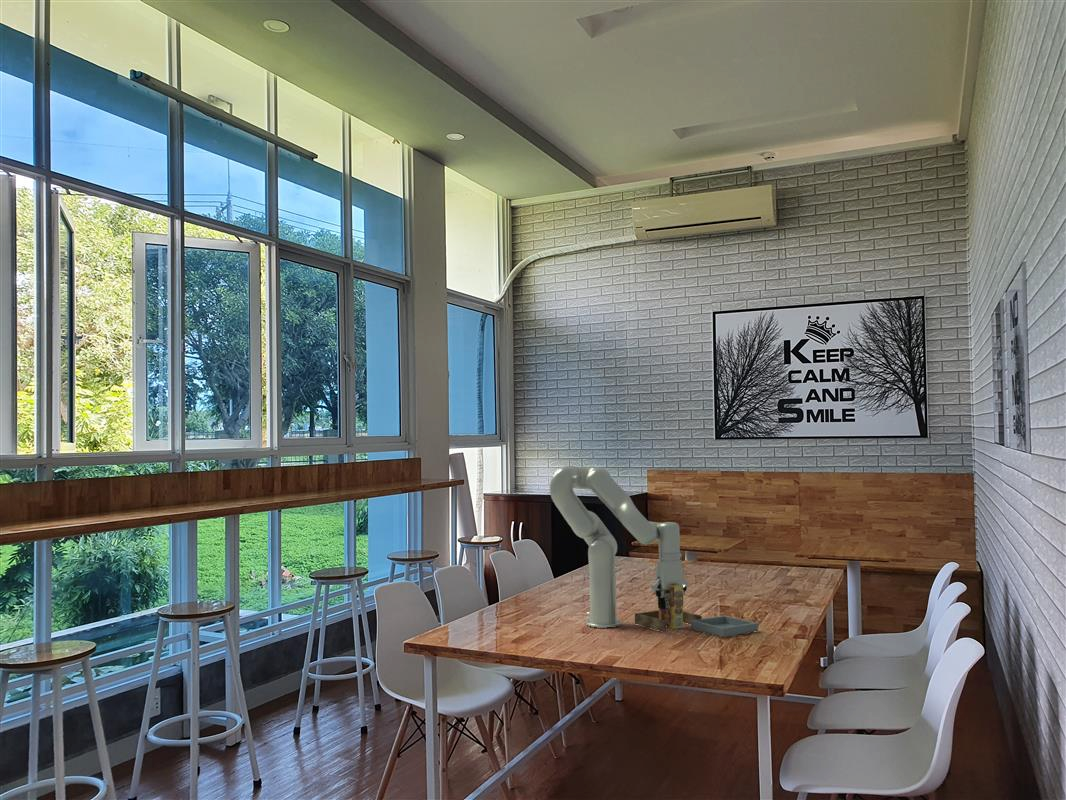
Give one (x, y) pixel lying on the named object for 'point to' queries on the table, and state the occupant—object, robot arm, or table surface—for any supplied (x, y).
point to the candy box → (673, 607)
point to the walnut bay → (654, 622)
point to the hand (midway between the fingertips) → (670, 607)
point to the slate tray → (724, 626)
